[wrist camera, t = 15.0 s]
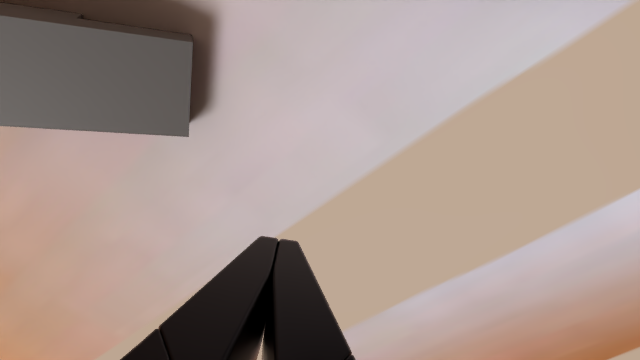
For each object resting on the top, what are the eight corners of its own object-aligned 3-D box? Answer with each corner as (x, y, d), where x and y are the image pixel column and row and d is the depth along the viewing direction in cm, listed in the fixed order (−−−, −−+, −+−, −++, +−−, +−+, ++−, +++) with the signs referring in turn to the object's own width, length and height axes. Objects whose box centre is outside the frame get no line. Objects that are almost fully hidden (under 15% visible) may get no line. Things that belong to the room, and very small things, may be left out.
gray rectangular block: (193, 42, 17) (-44, 9, 14) (188, 136, 19) (-19, 124, 16) (191, 35, 18) (-25, 3, 15) (187, 124, 20) (-5, 111, 17)
